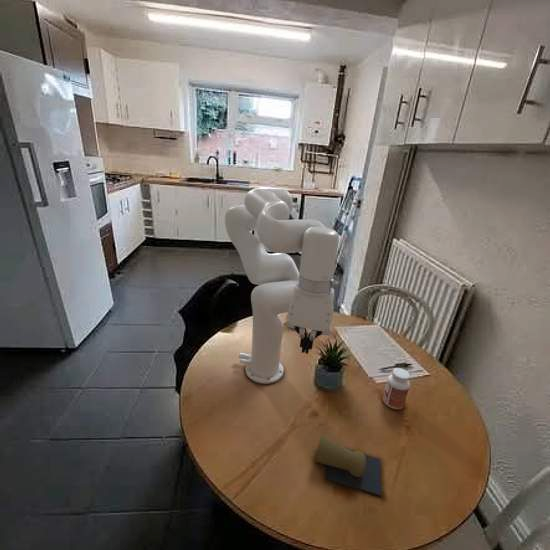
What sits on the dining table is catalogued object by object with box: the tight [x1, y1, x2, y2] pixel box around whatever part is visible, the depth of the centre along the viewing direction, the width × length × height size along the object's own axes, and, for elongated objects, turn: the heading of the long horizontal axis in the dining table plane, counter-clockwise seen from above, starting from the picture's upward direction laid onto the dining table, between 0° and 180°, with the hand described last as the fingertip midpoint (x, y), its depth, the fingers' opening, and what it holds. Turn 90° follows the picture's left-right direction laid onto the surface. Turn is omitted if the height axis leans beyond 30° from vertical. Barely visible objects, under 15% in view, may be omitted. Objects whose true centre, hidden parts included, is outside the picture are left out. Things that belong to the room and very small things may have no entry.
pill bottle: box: [382, 367, 411, 410], centre depth 92 cm, size 6×6×11 cm
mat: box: [326, 450, 382, 497], centre depth 73 cm, size 12×9×1 cm
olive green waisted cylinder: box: [314, 434, 366, 477], centre depth 73 cm, size 6×6×11 cm
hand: (305, 349), depth 77 cm, fingers closed
